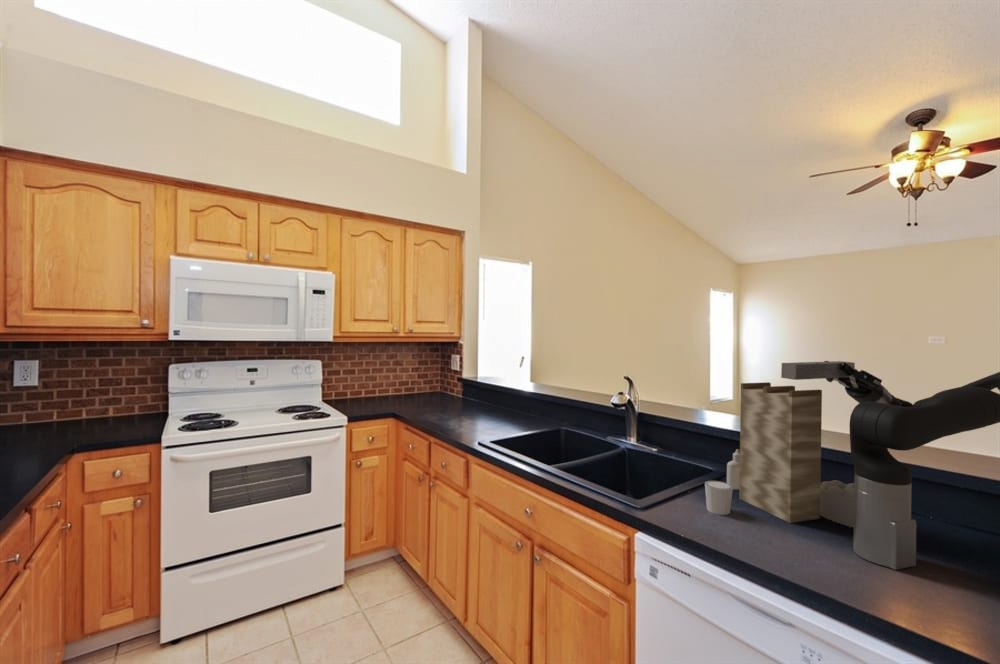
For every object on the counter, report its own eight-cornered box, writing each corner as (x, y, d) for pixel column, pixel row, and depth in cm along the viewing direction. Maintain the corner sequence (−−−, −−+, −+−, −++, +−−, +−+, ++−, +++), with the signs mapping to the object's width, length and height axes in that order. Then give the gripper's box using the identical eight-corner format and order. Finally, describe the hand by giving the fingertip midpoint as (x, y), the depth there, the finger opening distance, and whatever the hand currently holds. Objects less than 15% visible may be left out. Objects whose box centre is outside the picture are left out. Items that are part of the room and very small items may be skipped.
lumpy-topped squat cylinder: (858, 531, 105) (859, 496, 105) (805, 510, 118) (805, 478, 117) (886, 525, 109) (886, 491, 109) (831, 505, 121) (831, 474, 121)
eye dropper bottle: (747, 492, 130) (748, 452, 130) (726, 488, 133) (727, 450, 132) (746, 487, 134) (747, 448, 134) (726, 484, 136) (726, 446, 136)
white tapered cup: (730, 518, 112) (730, 491, 112) (701, 511, 116) (701, 485, 116) (734, 509, 117) (735, 483, 117) (707, 503, 122) (707, 478, 122)
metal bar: (854, 377, 119) (854, 362, 119) (795, 379, 113) (795, 364, 113) (839, 375, 123) (839, 361, 123) (781, 377, 117) (781, 363, 116)
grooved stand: (820, 518, 112) (821, 390, 112) (790, 522, 109) (791, 391, 109) (766, 495, 128) (768, 382, 127) (739, 498, 125) (740, 383, 125)
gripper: (892, 409, 117) (855, 379, 112) (837, 399, 131) (802, 373, 126) (902, 385, 118) (866, 354, 113) (847, 378, 132) (812, 350, 127)
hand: (833, 364), depth 120 cm, fingers closed on metal bar, 4 cm apart
